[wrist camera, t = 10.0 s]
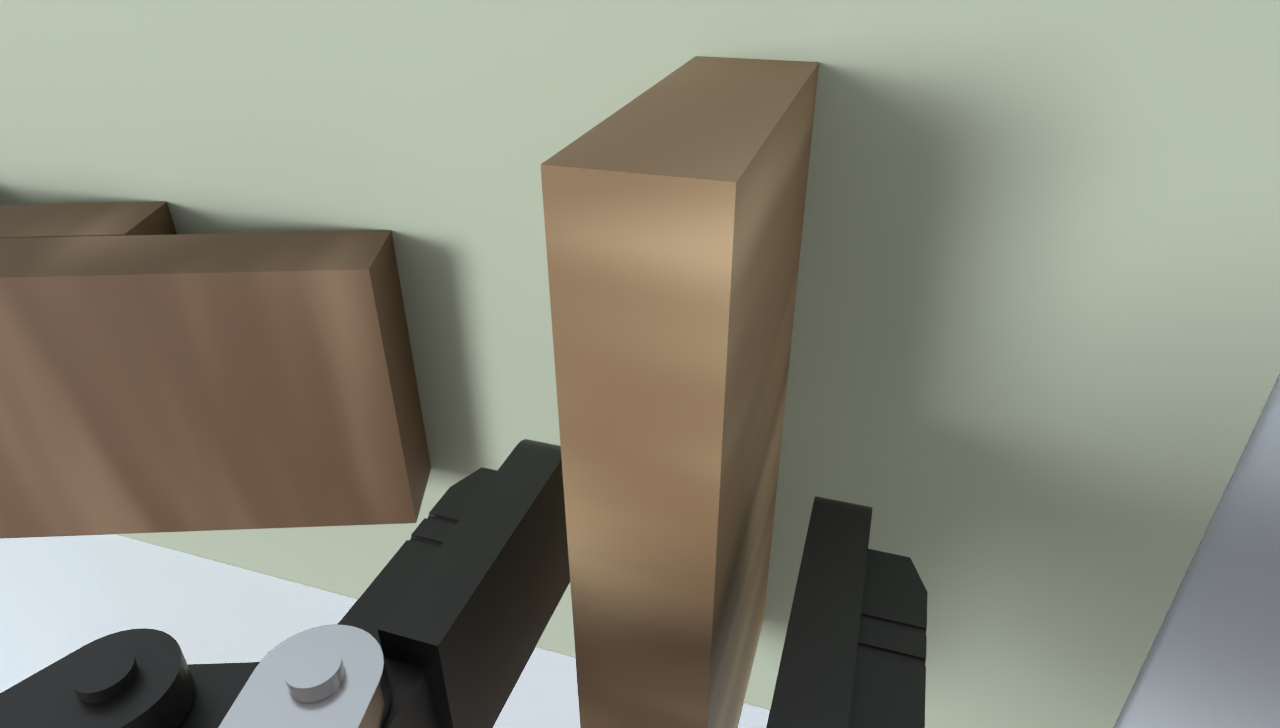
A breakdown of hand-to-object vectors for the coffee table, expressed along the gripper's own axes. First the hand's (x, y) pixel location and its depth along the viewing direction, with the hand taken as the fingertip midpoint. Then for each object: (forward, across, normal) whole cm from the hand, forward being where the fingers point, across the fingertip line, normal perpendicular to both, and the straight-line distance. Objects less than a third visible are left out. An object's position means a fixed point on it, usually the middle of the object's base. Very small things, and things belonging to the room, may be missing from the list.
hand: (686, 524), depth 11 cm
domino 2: (0, 0, -6) cm, 6 cm away
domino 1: (+2, +6, 0) cm, 6 cm away
